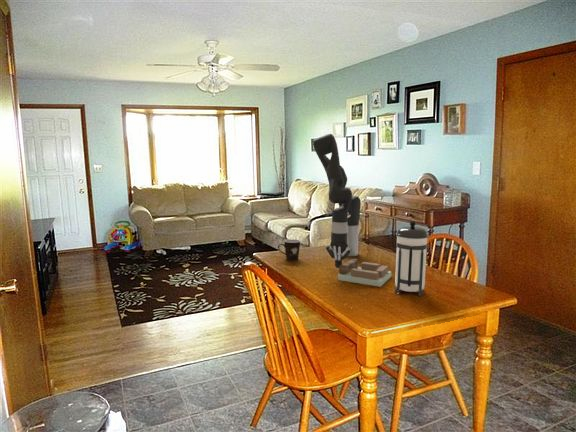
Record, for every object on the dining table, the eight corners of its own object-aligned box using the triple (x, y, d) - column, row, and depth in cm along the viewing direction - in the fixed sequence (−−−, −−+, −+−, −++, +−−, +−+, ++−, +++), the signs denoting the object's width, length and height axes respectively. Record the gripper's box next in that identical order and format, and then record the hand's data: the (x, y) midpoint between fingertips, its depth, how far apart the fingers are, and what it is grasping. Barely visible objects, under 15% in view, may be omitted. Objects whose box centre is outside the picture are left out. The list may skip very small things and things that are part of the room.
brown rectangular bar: (352, 265, 212) (353, 258, 212) (358, 266, 211) (359, 259, 210) (338, 273, 200) (339, 265, 199) (345, 274, 198) (345, 266, 197)
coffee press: (382, 288, 187) (384, 219, 182) (412, 284, 193) (415, 217, 188) (408, 301, 171) (411, 226, 167) (439, 296, 178) (444, 224, 173)
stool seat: (350, 270, 213) (351, 259, 213) (391, 276, 204) (391, 265, 203) (337, 279, 199) (338, 268, 198) (380, 286, 189) (381, 274, 188)
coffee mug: (300, 257, 239) (300, 239, 237) (299, 261, 230) (299, 242, 229) (279, 256, 240) (279, 238, 238) (277, 260, 232) (277, 242, 230)
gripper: (322, 230, 200) (322, 267, 203) (349, 234, 193) (347, 271, 196) (330, 228, 206) (329, 263, 209) (356, 231, 199) (354, 267, 202)
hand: (338, 267), depth 203 cm, fingers closed
